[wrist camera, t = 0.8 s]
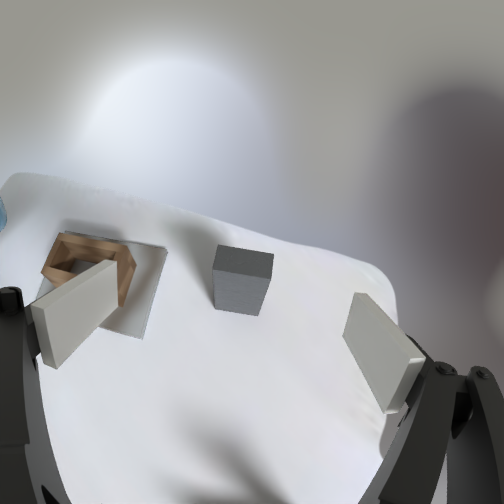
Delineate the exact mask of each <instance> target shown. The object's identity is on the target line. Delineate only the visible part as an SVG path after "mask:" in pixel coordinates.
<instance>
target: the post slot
mask: <svg viewBox="0 0 504 504" xmlns="http://www.w3.org/2000/svg"><path fill="white" fill-rule="evenodd" d="M167 253H168V252H167V249H162V248H157V247H151V246H145V245H140V244H134V243H129V242H123V241H118V240H112V239H107V238H101V237H96V236H90V235H85V234H79V233H74V232H69V231H65V233H59V234H58V236H57V238H56V240H55V242H54V244H53V246H52V249H51V251H50V253H49V255H48V257H47V260H46V262H45V264H44V266H43V269H42V271H41V273H42V274H43V275H44V276H45V277H44V279H43V282H42V284H41V287H40V290H39V292H38V295H37V298H36V300H38V298H40V297H41V296H43V295H45V294H46V293H48V292H49V291H52V290H54V289H56V288H58V287H59V286H61V285H63V284H64V283H66V282H67V281H69V280H71V279H73V278H74V277H76V276H78V275H79V274H81V273H83V272H84V271H86V270H88V269H90V268H91V267H93V266H95V265H96V264H98V263H100V262H102V261H104V260H105V259H106V260H112V261H117V293H118V307H117V308H116V309H115V310H114V311H113V312H112V313H111V314H110V315H109V316H108V317H107V318H106V319H105V320H104V321H103V322H102V323H101V324H100V325H99V326H98V327H100V328H104V329H107V330H110V331H114V332H117V333H121V334H124V335H128V336H132V337H135V338H139V339H143V336H144V333H145V329H146V325H147V321H148V317H149V314H150V310H151V306H152V303H153V299H154V296H155V292H156V289H157V286H158V282H159V279H160V276H161V272H162V269H163V266H164V263H165V260H166V256H167Z"/></svg>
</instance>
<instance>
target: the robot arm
mask: <svg viewBox="0 0 504 504" xmlns="http://www.w3.org/2000/svg"><path fill="white" fill-rule="evenodd" d="M6 222H7V214H6V211H5V208H4V205H3V202H2V200H1V197H0V232H1V231H2V230H3V229H4V227H5V225H6ZM117 307H118V293H117V261H112V260H106V259H105V260H104V261H102V262H100V263H98V264H96V265H95V266H93V267H91V268H90V269H88V270H86V271H84V272H83V273H81V274H79V275H78V276H76V277H74V278H73V279H71V280H69V281H67V282H66V283H64V284H63V285H61V286H59V287H58V288H56V289H54V290H52V291H49V292H48V293H46V294H45V295H43V296H41V297H40V298H38V300H35V301H34V302H32V303H30V304H29V305H27V306H26V307H24V303H23V297H22V291H21V289H20V288H18V287H4V288H1V289H0V504H72V503H71V502H70V500H69V498H68V496H67V494H66V491H65V489H64V486H63V483H62V480H61V477H60V474H59V471H58V468H57V464H56V461H55V458H54V454H53V450H52V446H51V442H50V438H49V434H48V429H47V425H46V420H45V415H44V409H43V403H42V396H41V389H40V381H39V372H38V363H37V360H36V356H37V355H38V354H39V353H40V352H41V356H42V359H43V363H44V364H45V365H48V366H50V367H52V368H55V369H58V368H59V367H60V366H61V365H62V364H63V362H64V361H65V360H66V359H67V358H68V357H69V356H70V355H71V354H72V353H73V352H74V351H75V350H76V349H77V348H78V347H79V346H80V344H81V343H82V342H83V341H84V340H85V339H86V338H87V337H88V336H89V335H90V334H91V333H92V332H93V331H94V330H95V329H96V328H97V327H98V326H99V325H100V324H101V323H102V322H103V321H104V320H105V319H106V318H107V317H108V316H109V315H110V314H111V313H112V312H113V311H114V310H115V309H116V308H117ZM343 338H344V340H345V342H346V343H347V345H348V347H349V349H350V351H351V353H352V355H353V356H354V358H355V360H356V362H357V364H358V366H359V368H360V369H361V371H362V373H363V375H364V377H365V379H366V381H367V383H368V385H369V387H370V388H371V390H372V392H373V394H374V396H375V398H376V400H377V402H378V404H379V406H380V408H381V410H382V412H383V414H390V413H397V412H399V411H400V409H401V408H402V406H403V404H404V402H406V403H407V405H408V407H409V408H408V410H407V411H406V413H405V415H404V416H403V418H402V420H401V422H400V423H399V425H398V427H399V429H398V431H397V434H396V436H395V438H394V440H393V442H392V444H391V446H390V448H389V450H388V452H387V454H386V456H385V458H384V460H383V462H382V464H381V466H380V468H379V469H378V471H377V473H376V475H375V476H374V478H373V480H372V482H371V483H370V485H369V487H368V488H367V490H366V492H365V493H364V495H363V496H362V498H361V500H360V501H359V503H358V504H431V501H432V498H433V495H434V492H435V489H436V486H437V483H438V479H439V476H440V473H441V469H442V466H443V462H444V458H445V454H446V453H447V504H504V398H503V396H502V393H501V391H500V389H499V386H498V384H497V382H496V380H495V378H494V375H493V374H492V373H491V372H490V371H489V370H488V369H487V368H485V367H480V366H474V367H472V368H471V370H470V372H469V374H468V376H462V375H458V374H457V371H456V370H455V368H454V367H452V366H451V365H449V364H447V363H444V362H434V361H433V360H432V359H431V358H430V357H429V356H428V355H427V353H426V352H425V351H424V350H422V348H421V347H420V346H419V345H418V343H417V342H416V341H415V340H414V339H413V338H411V337H410V336H408V335H406V334H404V333H403V331H402V330H401V329H400V328H399V327H398V326H397V325H396V324H395V323H394V322H393V321H392V320H391V318H390V317H389V316H388V315H387V314H386V313H385V312H384V311H383V310H382V309H381V308H380V307H379V306H378V305H377V304H376V303H375V302H374V301H373V300H372V299H371V297H370V296H369V295H368V294H366V293H356V292H354V296H353V300H352V304H351V308H350V311H349V315H348V319H347V322H346V326H345V329H344V333H343Z"/></svg>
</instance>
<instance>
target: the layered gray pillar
mask: <svg viewBox="0 0 504 504" xmlns="http://www.w3.org/2000/svg"><path fill="white" fill-rule="evenodd" d="M273 259H274V254H271V253H265V252H259V251H253V250H247V249H241V248H235V247H229V246H223V245H218V247H217V252H216V256H215V260H214V265H213V269H212V271H213V286H214V301H215V309H218V310H223V311H229V312H235V313H241V314H247V315H254V316H258V314H259V312H260V309H261V306H262V303H263V301H264V298H265V295H266V292H267V289H268V287H269V284H270V281H271V276H272V267H273Z"/></svg>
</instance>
